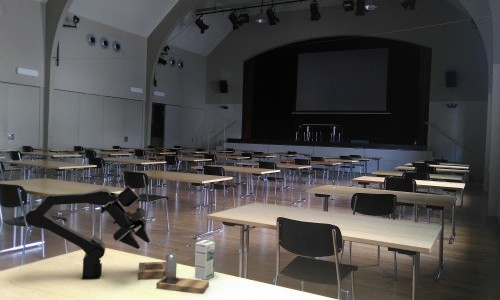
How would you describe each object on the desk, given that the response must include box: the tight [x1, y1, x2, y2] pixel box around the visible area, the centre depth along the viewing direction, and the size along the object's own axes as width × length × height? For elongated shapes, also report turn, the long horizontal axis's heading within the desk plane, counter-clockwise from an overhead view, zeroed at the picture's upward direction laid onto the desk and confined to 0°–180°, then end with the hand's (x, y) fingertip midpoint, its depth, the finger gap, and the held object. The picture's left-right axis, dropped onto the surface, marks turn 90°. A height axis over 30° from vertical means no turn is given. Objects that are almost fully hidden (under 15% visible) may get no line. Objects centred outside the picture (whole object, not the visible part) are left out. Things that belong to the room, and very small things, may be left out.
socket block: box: [137, 261, 166, 281], centre depth 172 cm, size 12×12×3 cm
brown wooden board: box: [155, 276, 210, 295], centre depth 159 cm, size 18×8×2 cm, turn 79°
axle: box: [165, 252, 178, 284], centre depth 160 cm, size 4×4×12 cm
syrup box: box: [194, 239, 216, 281], centre depth 171 cm, size 6×6×14 cm
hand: (144, 245), depth 166 cm, fingers open, 9 cm apart
